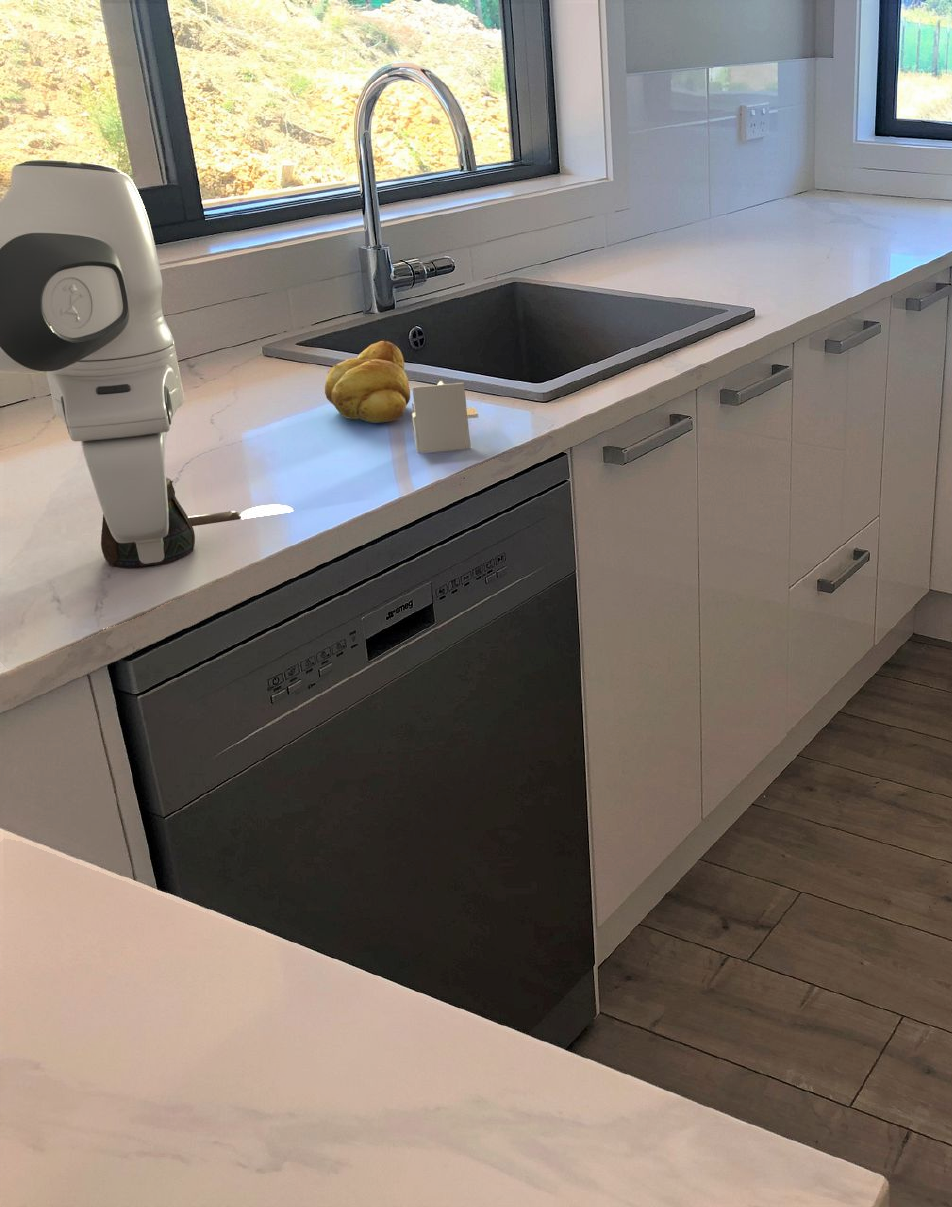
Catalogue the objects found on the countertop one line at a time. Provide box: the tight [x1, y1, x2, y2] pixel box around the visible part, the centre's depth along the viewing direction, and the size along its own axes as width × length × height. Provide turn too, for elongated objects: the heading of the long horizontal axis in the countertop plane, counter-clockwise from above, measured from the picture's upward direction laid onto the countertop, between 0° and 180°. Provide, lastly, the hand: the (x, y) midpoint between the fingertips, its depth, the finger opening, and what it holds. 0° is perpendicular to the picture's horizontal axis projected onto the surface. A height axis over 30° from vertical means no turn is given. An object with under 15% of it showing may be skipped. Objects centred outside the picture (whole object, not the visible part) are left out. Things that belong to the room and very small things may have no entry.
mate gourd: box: [100, 477, 196, 569], centre depth 111 cm, size 7×8×10 cm
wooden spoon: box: [187, 504, 294, 527], centre depth 122 cm, size 14×5×2 cm, turn 116°
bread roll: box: [324, 340, 411, 424], centre depth 157 cm, size 13×10×8 cm
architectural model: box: [411, 380, 479, 454], centre depth 146 cm, size 3×7×7 cm, turn 112°
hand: (152, 556), depth 104 cm, fingers closed
